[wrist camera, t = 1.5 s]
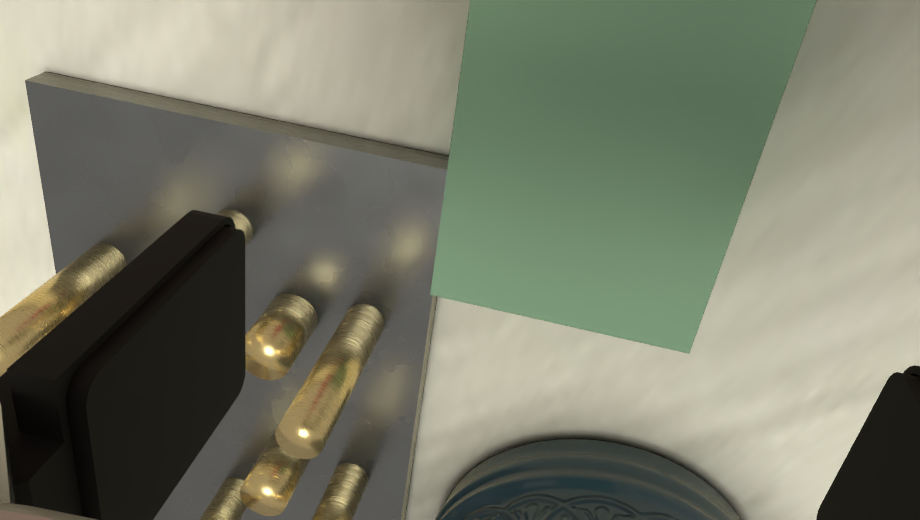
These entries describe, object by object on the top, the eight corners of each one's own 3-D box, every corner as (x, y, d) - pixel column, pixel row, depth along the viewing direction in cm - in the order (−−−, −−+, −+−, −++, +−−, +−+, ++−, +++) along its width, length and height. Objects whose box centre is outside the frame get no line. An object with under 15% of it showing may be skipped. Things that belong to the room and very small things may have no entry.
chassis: (457, 158, 24) (395, 269, 18) (397, 570, 34) (345, 728, 28) (45, 71, 25) (-138, 147, 19) (106, 491, 36) (-1, 626, 30)
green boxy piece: (791, -78, 19) (835, -51, 15) (680, 261, 24) (689, 353, 20) (518, -123, 20) (485, -110, 16) (465, 214, 25) (430, 294, 21)
